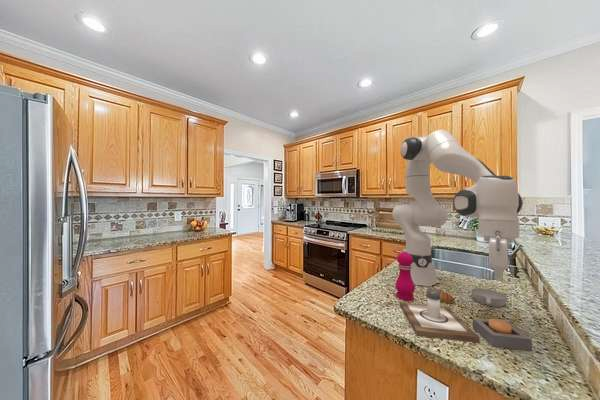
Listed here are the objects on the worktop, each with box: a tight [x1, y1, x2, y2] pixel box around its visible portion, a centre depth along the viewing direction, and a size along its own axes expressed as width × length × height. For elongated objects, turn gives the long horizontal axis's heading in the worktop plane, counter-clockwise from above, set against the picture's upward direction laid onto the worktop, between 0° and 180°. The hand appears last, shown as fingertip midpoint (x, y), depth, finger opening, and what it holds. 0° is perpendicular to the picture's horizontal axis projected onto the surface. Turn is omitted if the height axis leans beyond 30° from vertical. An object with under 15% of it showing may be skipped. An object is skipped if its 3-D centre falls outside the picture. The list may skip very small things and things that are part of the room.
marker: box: [426, 288, 441, 319], centre depth 71 cm, size 4×4×8 cm
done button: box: [488, 318, 512, 334], centre depth 62 cm, size 5×5×2 cm
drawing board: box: [399, 301, 481, 344], centre depth 71 cm, size 19×16×2 cm
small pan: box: [470, 287, 508, 308], centre depth 83 cm, size 11×18×4 cm, turn 139°
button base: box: [472, 317, 533, 352], centre depth 62 cm, size 9×9×3 cm
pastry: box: [425, 287, 455, 304], centre depth 88 cm, size 9×7×4 cm
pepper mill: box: [395, 248, 416, 302], centre depth 89 cm, size 7×7×20 cm
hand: (498, 278), depth 62 cm, fingers open, 4 cm apart
